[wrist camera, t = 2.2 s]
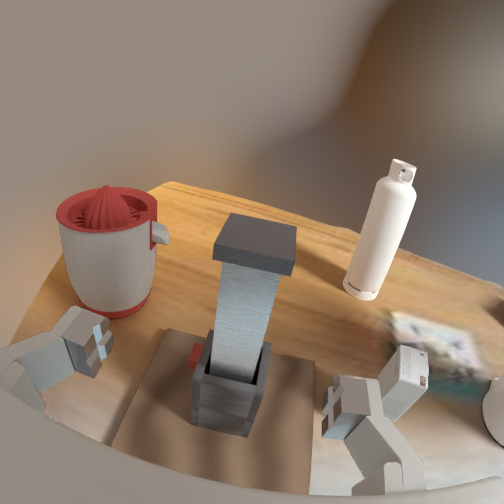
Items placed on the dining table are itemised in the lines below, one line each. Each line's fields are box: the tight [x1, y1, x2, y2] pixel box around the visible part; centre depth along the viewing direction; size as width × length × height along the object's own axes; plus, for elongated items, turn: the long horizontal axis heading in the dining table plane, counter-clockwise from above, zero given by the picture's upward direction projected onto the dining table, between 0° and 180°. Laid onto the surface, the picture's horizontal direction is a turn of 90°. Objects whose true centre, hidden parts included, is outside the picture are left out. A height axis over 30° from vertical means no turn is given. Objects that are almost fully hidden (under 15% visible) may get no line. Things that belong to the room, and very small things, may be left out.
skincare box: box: [376, 345, 429, 423], centre depth 33 cm, size 6×4×12 cm
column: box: [209, 213, 297, 384], centre depth 28 cm, size 5×5×23 cm
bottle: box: [343, 159, 416, 301], centre depth 57 cm, size 8×8×28 cm
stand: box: [111, 328, 315, 495], centre depth 32 cm, size 22×22×12 cm
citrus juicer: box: [56, 185, 170, 319], centre depth 44 cm, size 16×17×20 cm
